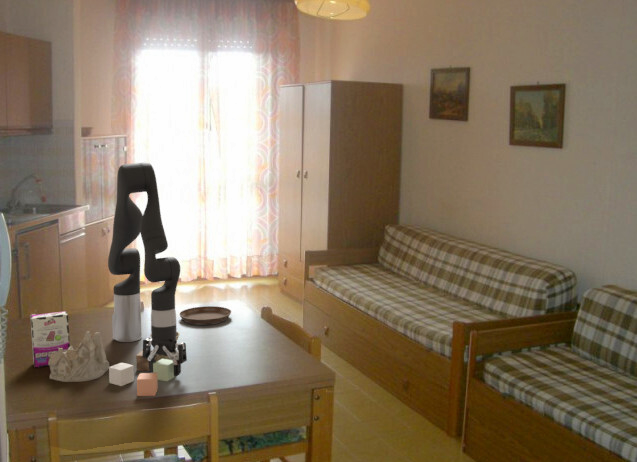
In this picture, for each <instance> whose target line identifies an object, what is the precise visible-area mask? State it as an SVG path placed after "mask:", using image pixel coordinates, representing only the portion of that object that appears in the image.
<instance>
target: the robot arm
mask: <svg viewBox="0 0 637 462" xmlns="http://www.w3.org/2000/svg"><path fill="white" fill-rule="evenodd" d="M116 179H117V181H116V204H115V211H114V216H113V224H112V225H113V227H112V239H111V244H110V248H109V252H108V259H107V267H108V271H109V273H111V275H113V276H120V275H121V276H122V275H129V276H128V277H127V278H126V279H124V280H122V281H121V282H120V281H119V282H118V283H116V284H115V285H114V286H113V307H114V308H113V310H114V311H113V313H112V315H111V319H112V320H111V321H112V324H111V325H112V340H115V341H116V342H120V343H131V342H136V341H139V340H141V339H142V306H141V253H140V251H139V249H137V248H134V247H133V248H130V247H129V248H127V247H128V246H129V245H131V244H132V243H134V241H136V239H137V238H138V237H139V235H140V236H141V240H142V244H143V248H144V267H143V272H144V273H143V274H144V276H145V278H146V280H147V281H148V282H150V283H159V282H164V283H163V284H162V285H161V286H160V287H157V288H155V289H153V290H152V291H151V294H150V301H151V302H150V304H151V306H150V307H151V310H150V335H151V337H152V338H151V337H146V338H145V339H142V350H143V358H147V359H148V361H149V370H150V371H149V373H153V363H155V362H156V359H155V358H156V356H157V355H164V356H168V357H169V358H170V359H171V360H172V361H173V363H174V376H175V377H178V376H180V374H181V372H182V367H181V366H182V364H183V363H185V362H187V361H188V359H187V358H188V357H187V356H188V355H187V344H186V342H181V343H179V342H178V341H177V342H176V336H177V332H178V331H177V312H176V291H177V288H178V282H179V279H180V274H181V265H180V261H179V260H178V259H177V258H176V257H174V256H166V257H160V258H157V257H156V255H158V254H160V253H163V252H165V251H166V250H167V249H168V247H169V246H168V245H169V244H168V240H167V235H166V231H165V229H164V225H163V220H162V213H161V205H160V198H159V192H158V185H157V178H156V172H155V170H154V167H153V165H152V164H151V163H150V162H136V163H135V162H134V163H125V164H122V165H120V166H119V167H118V170H117V178H116ZM144 192H146V195H147V202H146V205H145V209H144V212H142V211H141V209H140V208H139V207H138V205H137V204H136V203H135V202H134V201H133V200H132V198H131V197H130V195H131V194H136V193H144ZM151 347H153V349H152V348H151ZM175 348H176V349H175ZM151 349H152V350H151ZM151 351H152V352H151ZM172 353H174V355H173V354H172Z"/></svg>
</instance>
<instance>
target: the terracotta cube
mask: <svg viewBox="0 0 637 462" xmlns="http://www.w3.org/2000/svg"><path fill="white" fill-rule="evenodd" d="M158 381H159V380H158V379H157V373H152V372H140V373H139V374H138V376H137V379H136V395H137V397H147V396H149V397H150V396H156V394H157V391H158V389H159V388H158V387H159V383H158Z"/></svg>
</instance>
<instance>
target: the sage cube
mask: <svg viewBox="0 0 637 462" xmlns="http://www.w3.org/2000/svg"><path fill="white" fill-rule="evenodd" d="M153 373H157V379H158V381H163V382H169V381H171V380H173V379H174V378H175V377H176V376H174V363H173V361H172V360H168V359H161V360H159V361H157V362H155V363H153Z"/></svg>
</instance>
